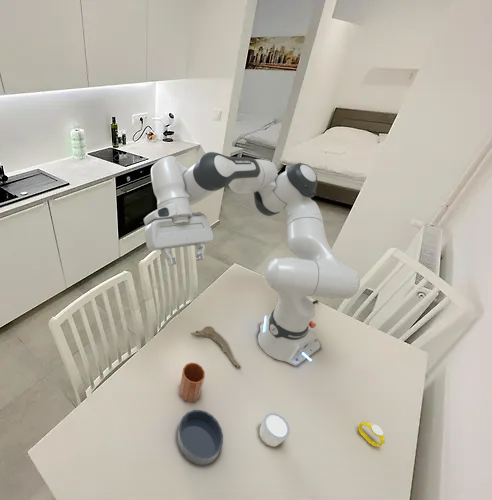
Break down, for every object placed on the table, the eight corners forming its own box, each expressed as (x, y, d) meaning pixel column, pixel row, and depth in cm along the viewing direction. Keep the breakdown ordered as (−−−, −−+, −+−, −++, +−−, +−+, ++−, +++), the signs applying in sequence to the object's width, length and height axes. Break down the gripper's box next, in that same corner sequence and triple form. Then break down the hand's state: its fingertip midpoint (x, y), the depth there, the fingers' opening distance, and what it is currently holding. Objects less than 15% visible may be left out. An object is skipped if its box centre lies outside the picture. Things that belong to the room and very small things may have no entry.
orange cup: (193, 380, 95) (198, 360, 88) (203, 398, 90) (208, 378, 83) (176, 386, 93) (179, 366, 86) (185, 405, 88) (189, 386, 81)
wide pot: (205, 412, 87) (208, 403, 84) (227, 455, 78) (231, 447, 75) (170, 426, 84) (172, 418, 80) (189, 473, 75) (191, 466, 71)
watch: (353, 430, 83) (362, 421, 80) (358, 425, 84) (368, 416, 81) (374, 451, 79) (385, 442, 76) (379, 446, 80) (391, 437, 77)
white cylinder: (284, 452, 79) (292, 442, 75) (258, 446, 80) (265, 436, 76) (279, 425, 84) (287, 415, 80) (255, 420, 85) (261, 409, 81)
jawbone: (202, 323, 115) (203, 320, 113) (249, 354, 104) (251, 350, 103) (189, 336, 109) (190, 332, 107) (239, 370, 98) (240, 366, 97)
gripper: (198, 215, 86) (209, 259, 84) (138, 219, 76) (149, 270, 74) (211, 207, 80) (223, 255, 78) (148, 211, 71) (160, 265, 69)
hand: (186, 262), depth 76 cm, fingers open, 8 cm apart
